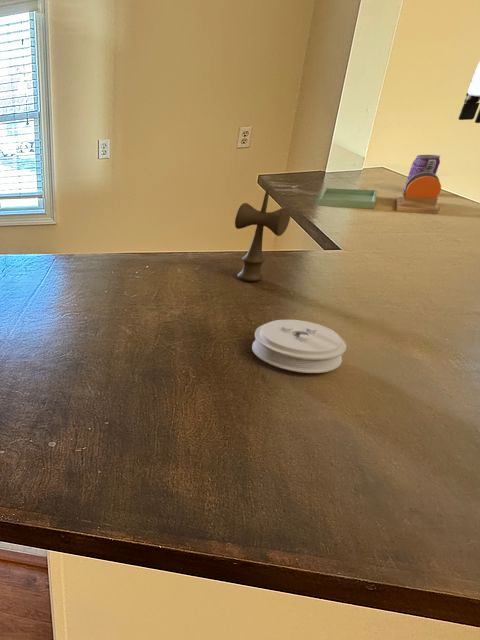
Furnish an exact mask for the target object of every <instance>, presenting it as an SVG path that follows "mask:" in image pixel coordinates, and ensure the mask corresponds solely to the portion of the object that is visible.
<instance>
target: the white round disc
mask: <svg viewBox="0 0 480 640" xmlns="http://www.w3.org/2000/svg"><path fill="white" fill-rule="evenodd" d="M254 338H255V340H254V341H253V342H252V345H251V350H252V352H253V353H254V355H255V356H256V357H257V358H259V359H260V360H262V362H263V361H264V362H265V363H267V364H269V365H271V366H274V367H275V368H280V369H283V370H286V371H291V372H296V373H303V374H304V373H305V374H321V373H327V372H331V371H334V370H336V369H338V368H339V367H340V366H341V365H342V363H343V358H342V356H343V355H344V354H345V352H346V350H347V342H346V341H345V339H343V338H342V337H341V336H340V335H339V334H338V333H337V332H336V331H334V330H333V329H331V328H329V327H327V326H325V325H322V324H317V323H315V322H311V321H306V320H299V319H277V320H272V321H269V322H267V323H265V324H264V323H263V324H262V325H260V326H258V327H257V328H256V329H255V331H254Z"/></svg>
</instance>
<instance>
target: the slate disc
mask: <svg viewBox="0 0 480 640" xmlns="http://www.w3.org/2000/svg"><path fill="white" fill-rule="evenodd" d="M423 176H431V177H435V178H436V179H438V180H439V181H440V178H439V177H438V176H437V174H436V175H435V174H434V173H431V172H422V173H418V174H416V175H414V176H413V177H412V178H410V179H409V181H408V182H407V184H406V183H405V184H406V190H407V187H408V186H409V184H410V183H411V182H412V181H414V180H415V179H417V178H420V177H423Z"/></svg>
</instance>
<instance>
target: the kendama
mask: <svg viewBox="0 0 480 640" xmlns="http://www.w3.org/2000/svg"><path fill="white" fill-rule="evenodd" d="M269 195H270V187H267V188H266V189H265V192H264V195H263V200H262V204H261V208H260V210H258V209H256V208H255V207H253V206H252V205H251V204H249V203H248V202H244V203H242V204H241V205H239V207H238V209H237V210H236V214H235V217H234V227H235V228H236V229H237V230H241V229H245V228H247V227H250V226H256V227H255V231H254V235H253V237H252V241H251V243H250V246H249V249H248V250H247V253H246V254H245V255H243V256H242V257H241V260H242V262H243V267H242V270H241V271H239V272H238V273H237V278H238V279H240V280H242V281H245V282H259V281H261V280H262V279H264V275H263V273H262V265H263V263H265V261H266V258H265V257H264V256H263V236H264V229H265V228H267V229H269V230H270V231H271V232H272V233H273V234H274V235H275V236H277V237H280V236H282V235H283V234H284V233H285V232H286V230H287V228H288V226H289V223H290V220H291V215H292V210H291V207H290V206H288V205H286V206H283V207H280V208H279V209H276V210H274V211H270V212H268V211H267V208H268V203H269V197H270V196H269ZM264 227H265V228H264Z"/></svg>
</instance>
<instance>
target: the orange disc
mask: <svg viewBox="0 0 480 640" xmlns="http://www.w3.org/2000/svg"><path fill="white" fill-rule="evenodd" d="M441 190H442V184H441V182H440V179H439V180H438V179H436V178H435V177H431V176H423V177H420V178H417V179H415V180H414V181H412V182H411V183H410V184H409V186H408V187H407V190H406V196H407V197H417V198H436V197H437V198H438V196H439V194H440V193H441Z"/></svg>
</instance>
